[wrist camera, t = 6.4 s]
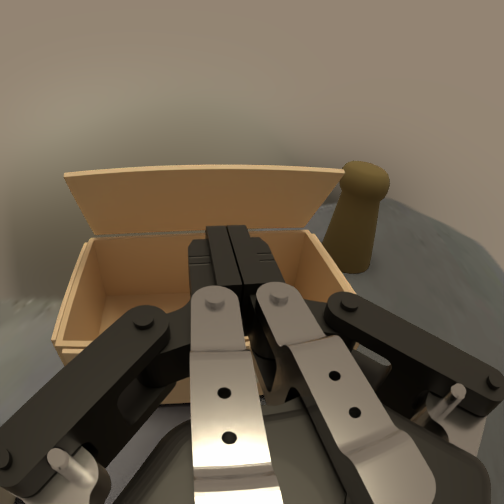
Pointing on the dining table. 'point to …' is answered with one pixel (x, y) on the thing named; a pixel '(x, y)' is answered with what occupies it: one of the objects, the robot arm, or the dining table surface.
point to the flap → (200, 196)
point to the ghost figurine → (6, 497)
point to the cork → (356, 216)
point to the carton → (170, 283)
